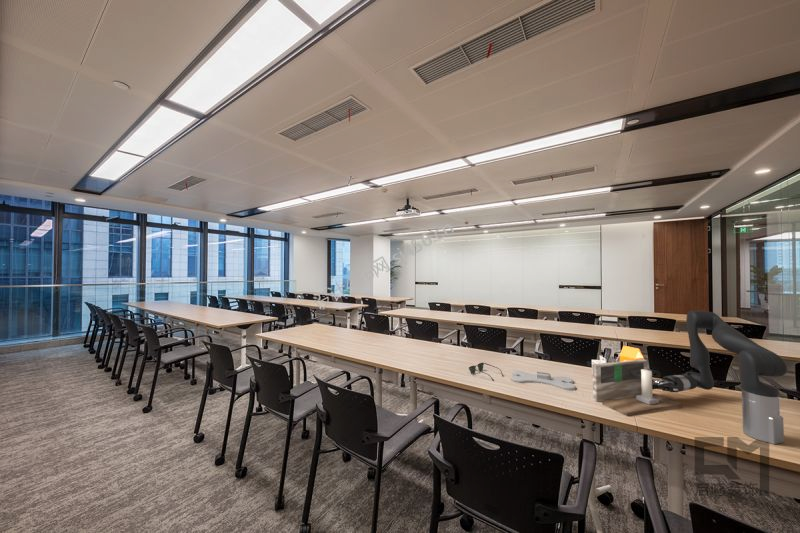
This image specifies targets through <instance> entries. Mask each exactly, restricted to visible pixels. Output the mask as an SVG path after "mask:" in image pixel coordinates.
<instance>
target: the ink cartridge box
mask: <svg viewBox="0 0 800 533" xmlns="http://www.w3.org/2000/svg"><path fill="white" fill-rule="evenodd" d="M601 363H607V358H605V357H603V356H602V355H599V359H591V365H592V364H601ZM591 378H592V380H593V369H592V368H591Z"/></svg>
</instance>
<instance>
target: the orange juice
mask: <svg viewBox="0 0 800 533" xmlns="http://www.w3.org/2000/svg"><path fill="white" fill-rule="evenodd" d="M640 359H644V360H645V358H644V356H643V354H642V351H641V350H640V348H637V347H632V346H627V345H623V346H622V349H621V351H620V353H619V362H620V361H630V360H640Z"/></svg>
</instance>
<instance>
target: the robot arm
mask: <svg viewBox="0 0 800 533" xmlns="http://www.w3.org/2000/svg"><path fill="white" fill-rule="evenodd" d="M686 327H687V334H688V335H687V337H688V340H689V350H690V351H689V355H690V356H689V365H690V367H692V368H693V369H696V370H698V371H699V372H695V371H687V372H685V373H683V374H673V375H665V376H662V378H661V379H656V380H654V379H653V378H652V391H653V390H662V391H663V392H669V393H680V392H684V391H688V390H694V389H696V388H699V389H703V390H706V391H709V390H712V389H713V388H714V386H715V380H714V376H713V375H712V371H711V368H710V352H709V349H708V348H707V346H706V345H705V344H704V343H703V341H702V340H701V338H700V335H699V330H698V329H702V330H703V329H704V330H711V331H712V332H711V337H712V339H713V341H714V342H715V343H716V344H718V345H719V346H720V347H722V348H723V349H724V350H727V352H731V353H734V354H737V364H738V372H739V381H740V384H741V403H742V404H741V407H742V408H741V412H742V414H741V415H742V432H743V434H744V435H746V436H748V437H750V438H752V439H755V440H758V441H760V442H764V443H770V444H772V445H777V444H782V443H784V442H785V433H784V432H785V431H784V428H785V427H784V416H782V415H780V411H781V410H780V409H781V408H780V391H779V388H777V387H776V386H774V385H772V384H768V383H765V382H763V381H761V380H760V377H759V376H763V377H770V378H771V377H772V378H774V377H775V378H776V377H777V378H778V377H783V376H784V375H786V374H787V372H788V366H787V364H786V362H785V360H784V359H783V358H782V357H781V356H780V355H779V354H778V353H776V352H773V351H772V350H769V349H768V348H766V347H764V346H761V345H760V344H758V343H757V342H755V341H753V340H752V339H750V338H749V337H747V336H746V335H745V334H743V333H741V332H740V331H739V330H738V329H735V328H734V327H732V326H731V325H729V324H728V323H727V322H726V321H724V319H723V318H721V317H720V316H719V315H718V314H716V313H715V312H712V311H705V310H696V309H695V310H694V309H691V310H689V311H688V312H687V314H686Z"/></svg>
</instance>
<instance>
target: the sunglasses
mask: <svg viewBox="0 0 800 533" xmlns="http://www.w3.org/2000/svg"><path fill="white" fill-rule="evenodd" d="M484 365H487V366H490V367H493V368H496V369H497V370H500V372H501V377H504V374H503V371H502V370H501V369H500V368H499V367H497V366H494V365H493V364H492V365H491V364H488V363H486V362H479V363H478V364H477V365H471V366H469V367H468V370H469V371H470V374H471V375H473V374H475V373H476V372H480V373H483V374H486V375H488V376H489V377H490V379H491V380H492V381H493V380H494V378H493V377H492V376H491V375H490V374H488V373H486V372H484V371H483V370H484ZM472 373H473V374H472Z"/></svg>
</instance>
